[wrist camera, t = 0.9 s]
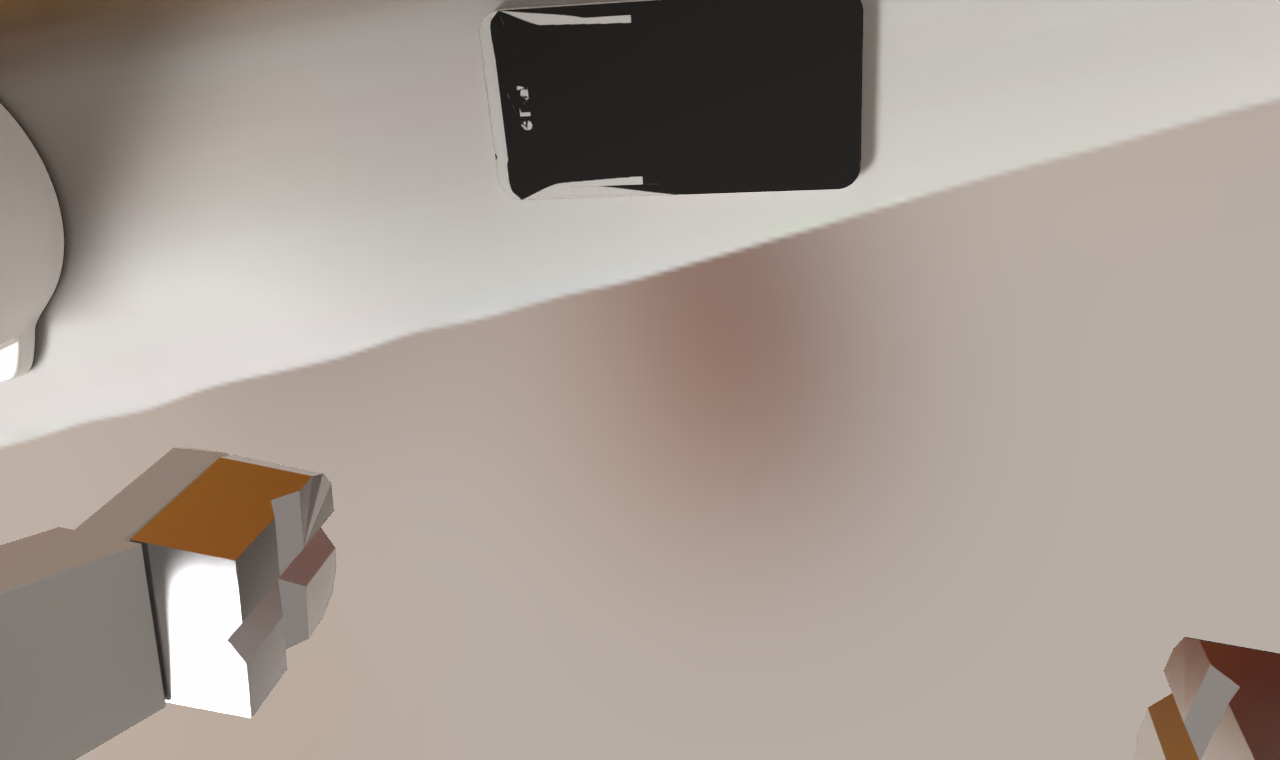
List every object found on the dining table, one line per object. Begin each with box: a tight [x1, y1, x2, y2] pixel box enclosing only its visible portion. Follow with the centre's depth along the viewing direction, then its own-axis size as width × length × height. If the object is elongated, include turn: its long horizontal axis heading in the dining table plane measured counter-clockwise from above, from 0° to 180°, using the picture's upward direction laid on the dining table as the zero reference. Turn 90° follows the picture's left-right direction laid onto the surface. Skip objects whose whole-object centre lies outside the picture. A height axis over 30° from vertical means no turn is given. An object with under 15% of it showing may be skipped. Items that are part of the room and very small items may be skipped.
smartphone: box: [479, 0, 863, 200], centre depth 42 cm, size 8×1×15 cm
